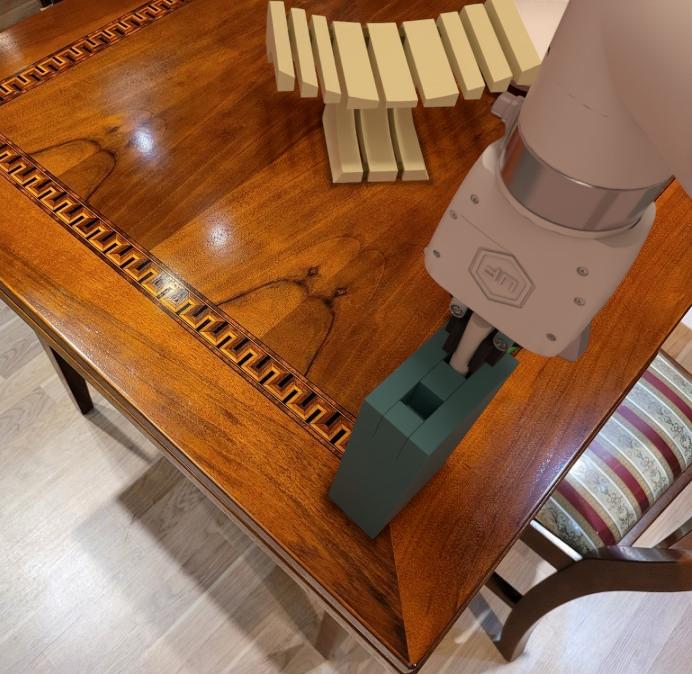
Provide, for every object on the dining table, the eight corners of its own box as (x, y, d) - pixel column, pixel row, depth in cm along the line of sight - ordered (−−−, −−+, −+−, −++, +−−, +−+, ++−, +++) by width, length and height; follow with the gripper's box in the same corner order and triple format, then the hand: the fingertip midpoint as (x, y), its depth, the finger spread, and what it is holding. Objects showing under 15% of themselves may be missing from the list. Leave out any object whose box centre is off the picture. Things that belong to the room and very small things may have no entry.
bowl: (441, 77, 101) (455, 35, 95) (507, 21, 109) (523, -22, 103) (557, 137, 94) (579, 95, 88) (618, 73, 102) (642, 30, 96)
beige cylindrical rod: (463, 382, 53) (500, 317, 43) (452, 395, 53) (486, 333, 43) (448, 371, 54) (480, 304, 44) (436, 383, 53) (467, 319, 43)
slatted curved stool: (463, 100, 98) (505, -17, 83) (490, 177, 90) (541, 63, 75) (263, 106, 97) (268, -12, 82) (271, 184, 89) (278, 70, 74)
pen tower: (442, 466, 68) (520, 361, 50) (372, 539, 64) (428, 455, 46) (397, 427, 71) (456, 313, 52) (327, 495, 67) (363, 398, 48)
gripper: (410, 118, 34) (355, 314, 50) (693, 299, 28) (530, 457, 44) (495, 56, 37) (418, 260, 53) (770, 210, 31) (591, 389, 47)
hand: (470, 349), depth 48 cm, fingers closed on beige cylindrical rod, 1 cm apart
